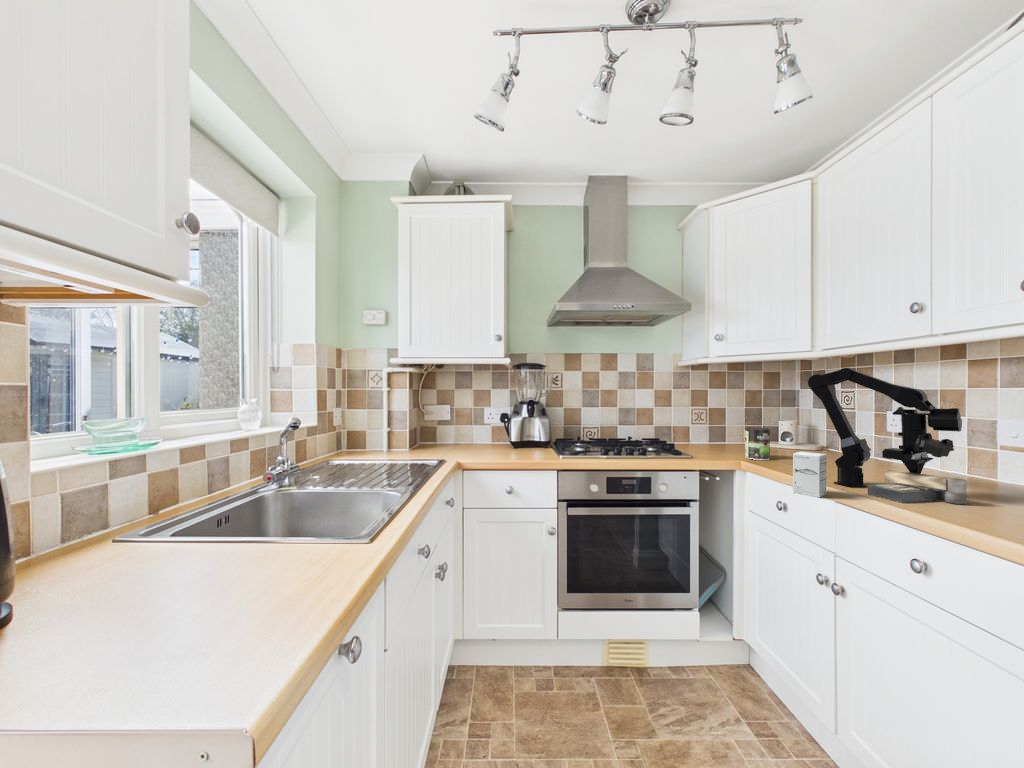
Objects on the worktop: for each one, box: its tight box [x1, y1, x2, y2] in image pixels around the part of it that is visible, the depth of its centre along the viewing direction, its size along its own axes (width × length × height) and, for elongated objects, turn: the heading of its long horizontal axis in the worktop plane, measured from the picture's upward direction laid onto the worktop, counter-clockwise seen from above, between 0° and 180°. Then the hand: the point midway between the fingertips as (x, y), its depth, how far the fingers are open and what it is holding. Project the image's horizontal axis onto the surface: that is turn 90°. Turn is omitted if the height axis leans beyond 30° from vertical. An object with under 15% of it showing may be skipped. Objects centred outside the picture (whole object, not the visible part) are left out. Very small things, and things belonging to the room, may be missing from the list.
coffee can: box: [744, 427, 771, 461], centre depth 205 cm, size 10×10×14 cm
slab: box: [867, 483, 945, 504], centre depth 133 cm, size 10×20×3 cm, turn 101°
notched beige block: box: [884, 469, 967, 505], centre depth 132 cm, size 18×4×6 cm, turn 33°
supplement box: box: [792, 450, 828, 499], centre depth 137 cm, size 7×7×13 cm
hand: (916, 479), depth 137 cm, fingers closed
